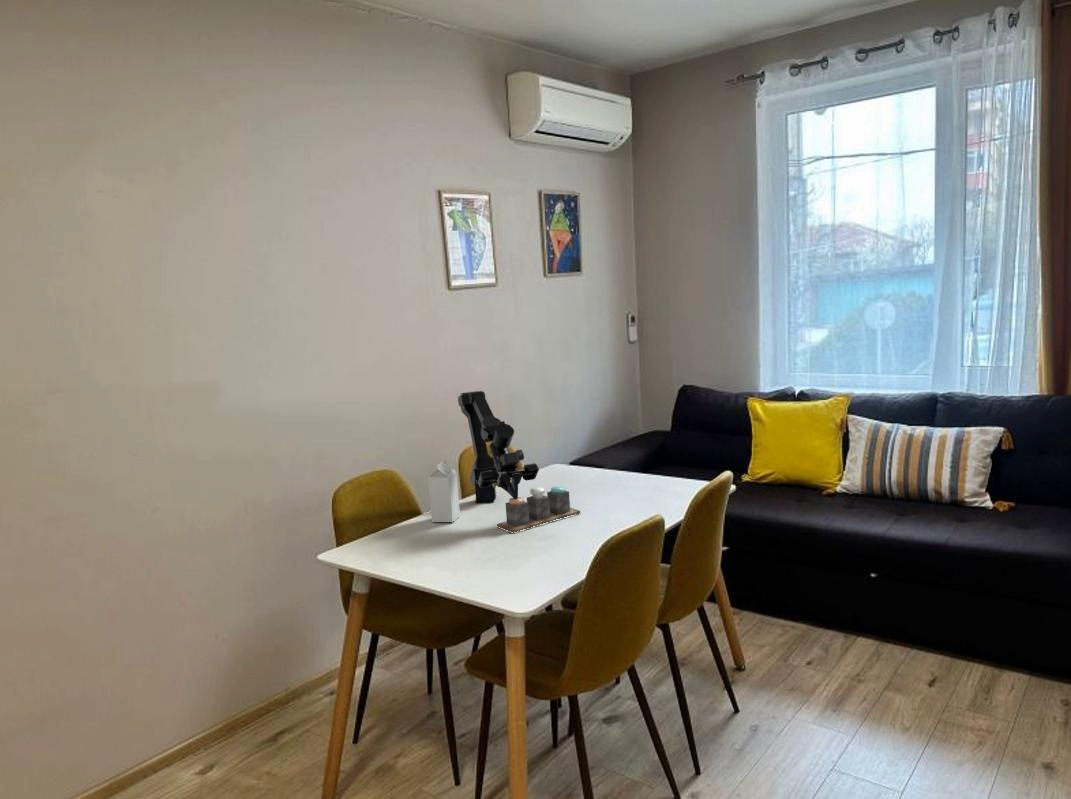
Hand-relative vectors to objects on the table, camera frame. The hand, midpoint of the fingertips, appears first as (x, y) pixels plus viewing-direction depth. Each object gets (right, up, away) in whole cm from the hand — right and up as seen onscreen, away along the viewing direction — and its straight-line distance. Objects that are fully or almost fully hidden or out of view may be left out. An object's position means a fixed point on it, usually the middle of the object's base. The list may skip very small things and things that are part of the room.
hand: (516, 498), depth 220 cm
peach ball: (0, -4, +1) cm, 4 cm away
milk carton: (-23, -9, +13) cm, 28 cm away
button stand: (+7, -8, +6) cm, 12 cm away
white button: (+7, -1, +5) cm, 8 cm away
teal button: (+13, -2, +10) cm, 16 cm away
